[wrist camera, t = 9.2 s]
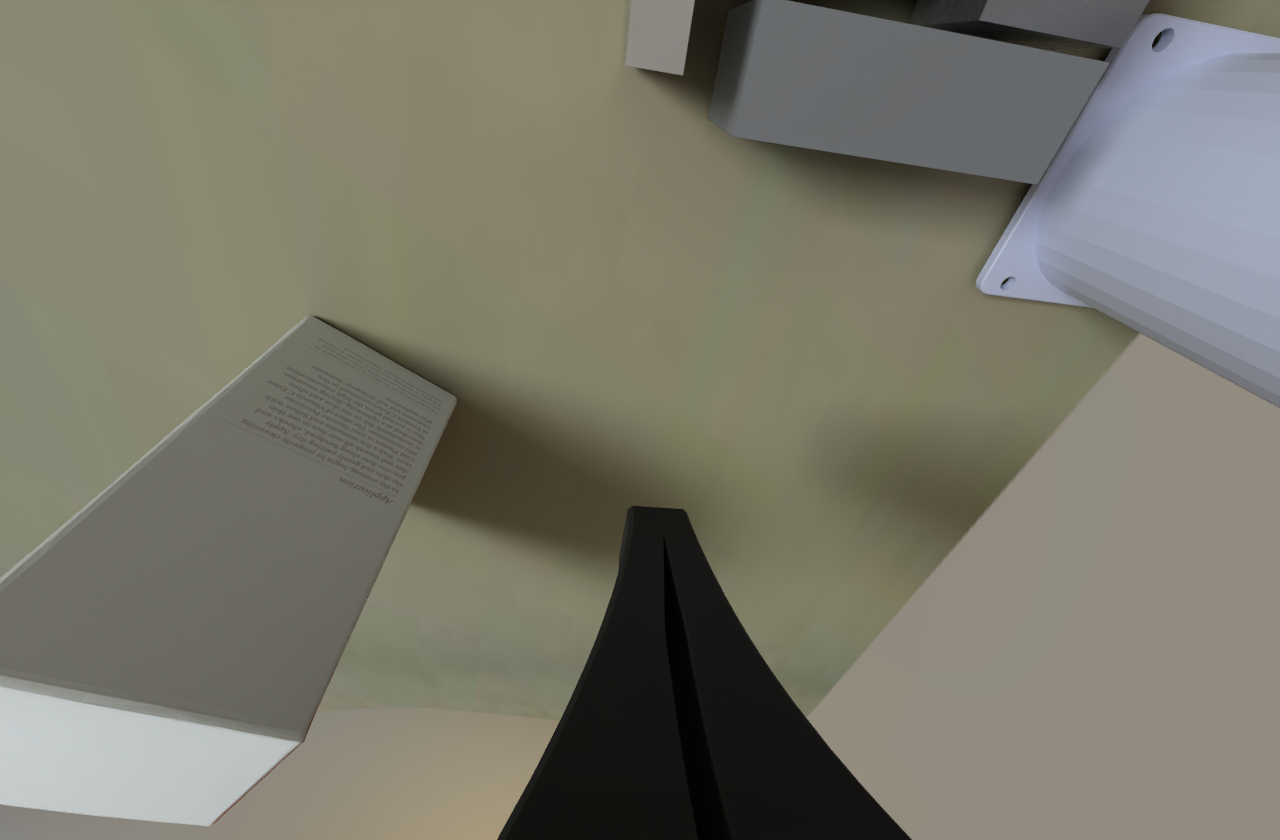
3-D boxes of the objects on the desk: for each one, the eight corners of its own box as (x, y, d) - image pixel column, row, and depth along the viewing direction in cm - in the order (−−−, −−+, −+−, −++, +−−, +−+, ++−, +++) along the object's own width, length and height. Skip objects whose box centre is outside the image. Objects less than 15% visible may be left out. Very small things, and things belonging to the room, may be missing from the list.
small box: (386, 497, 24) (210, 832, 14) (248, 436, 21) (-102, 796, 11) (464, 396, 20) (305, 749, 10) (309, 307, 18) (-126, 666, 7)
